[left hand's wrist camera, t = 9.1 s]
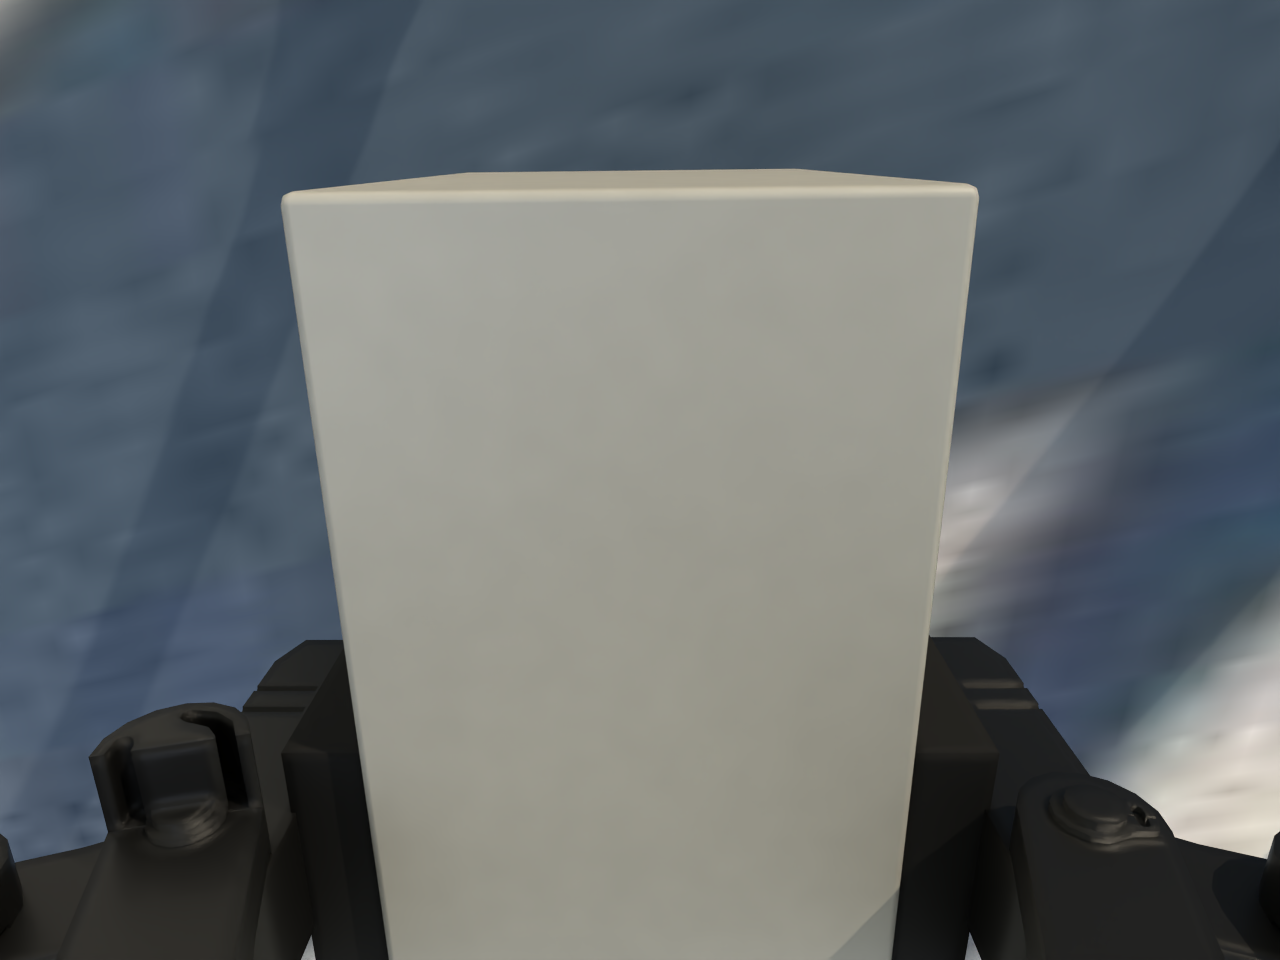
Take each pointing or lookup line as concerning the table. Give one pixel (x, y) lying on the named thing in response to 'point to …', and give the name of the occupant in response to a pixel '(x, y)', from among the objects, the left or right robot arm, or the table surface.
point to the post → (635, 545)
